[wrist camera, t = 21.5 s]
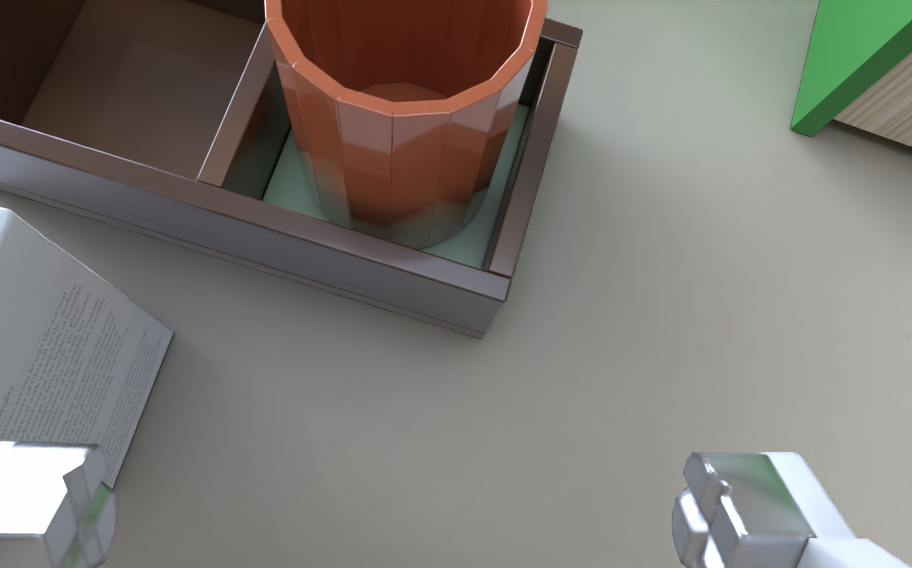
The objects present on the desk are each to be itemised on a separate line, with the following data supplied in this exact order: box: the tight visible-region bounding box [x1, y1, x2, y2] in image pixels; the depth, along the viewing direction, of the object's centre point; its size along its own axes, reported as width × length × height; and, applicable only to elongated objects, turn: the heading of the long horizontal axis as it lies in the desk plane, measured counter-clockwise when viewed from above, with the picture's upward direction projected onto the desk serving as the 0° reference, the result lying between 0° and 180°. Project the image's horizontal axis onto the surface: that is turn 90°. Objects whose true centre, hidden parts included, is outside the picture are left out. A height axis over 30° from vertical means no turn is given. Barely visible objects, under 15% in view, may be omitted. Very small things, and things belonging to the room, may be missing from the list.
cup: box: [264, 0, 547, 249], centre depth 23 cm, size 7×7×10 cm
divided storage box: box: [0, 0, 583, 339], centre depth 26 cm, size 10×19×6 cm, turn 74°
